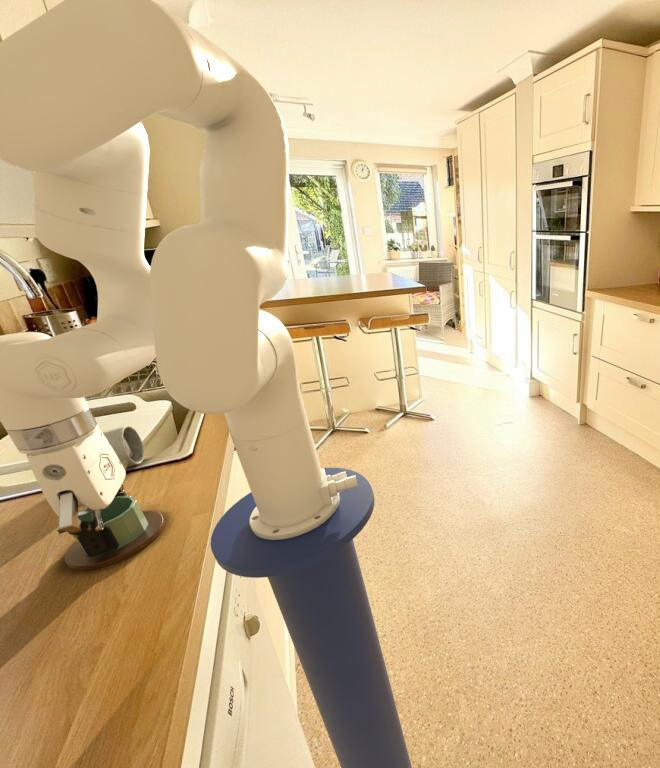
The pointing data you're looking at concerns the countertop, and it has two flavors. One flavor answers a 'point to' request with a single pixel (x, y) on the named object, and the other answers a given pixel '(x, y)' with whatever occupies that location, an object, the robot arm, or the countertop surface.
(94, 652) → the countertop surface
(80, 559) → the turntable
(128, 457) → the ceramic mug
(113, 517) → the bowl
